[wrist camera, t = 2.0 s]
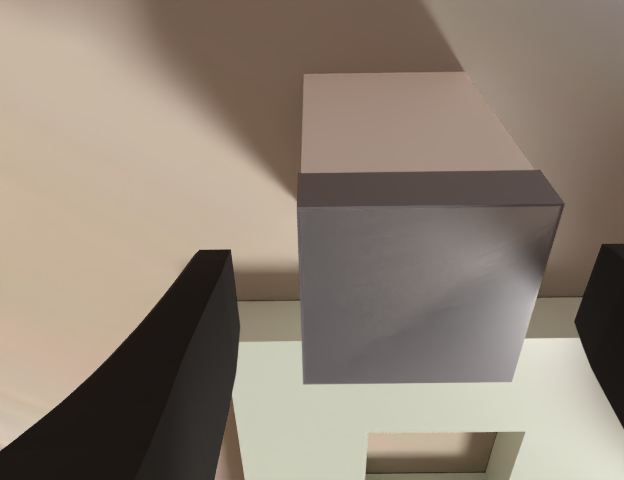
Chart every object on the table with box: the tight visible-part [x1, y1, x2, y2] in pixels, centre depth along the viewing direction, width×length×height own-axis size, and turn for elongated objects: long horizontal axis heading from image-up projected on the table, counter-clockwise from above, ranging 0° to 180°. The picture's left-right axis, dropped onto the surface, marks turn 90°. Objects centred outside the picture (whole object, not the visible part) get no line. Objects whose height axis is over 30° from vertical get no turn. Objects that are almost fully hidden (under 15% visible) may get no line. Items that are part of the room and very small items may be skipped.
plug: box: [297, 72, 564, 385], centre depth 13 cm, size 4×4×7 cm
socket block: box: [232, 297, 624, 480], centre depth 23 cm, size 16×16×3 cm
